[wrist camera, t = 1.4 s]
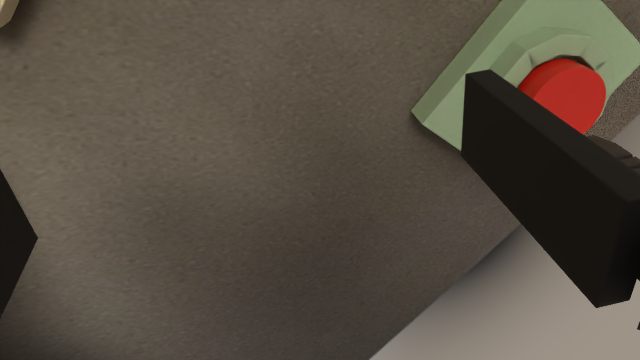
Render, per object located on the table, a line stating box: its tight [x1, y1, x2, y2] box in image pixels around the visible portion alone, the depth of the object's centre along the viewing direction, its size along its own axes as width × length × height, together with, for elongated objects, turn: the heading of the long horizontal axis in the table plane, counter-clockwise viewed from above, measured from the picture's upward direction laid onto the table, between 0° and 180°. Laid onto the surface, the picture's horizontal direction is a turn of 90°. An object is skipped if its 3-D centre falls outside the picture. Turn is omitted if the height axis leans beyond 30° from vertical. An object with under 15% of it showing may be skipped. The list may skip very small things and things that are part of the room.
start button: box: [518, 58, 606, 134], centre depth 30 cm, size 5×5×2 cm
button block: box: [411, 0, 640, 151], centre depth 32 cm, size 12×10×4 cm
